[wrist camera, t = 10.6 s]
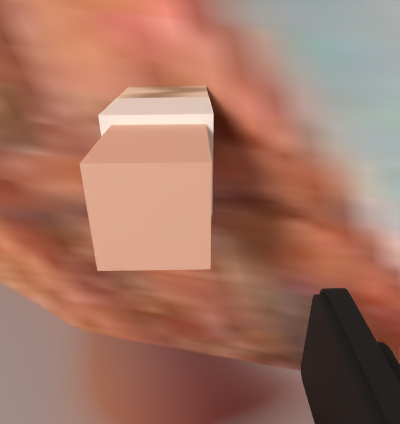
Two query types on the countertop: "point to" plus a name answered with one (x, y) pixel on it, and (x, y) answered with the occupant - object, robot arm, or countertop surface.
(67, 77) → the countertop surface
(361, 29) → the countertop surface
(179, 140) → the top block
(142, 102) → the middle block
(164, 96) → the base block
